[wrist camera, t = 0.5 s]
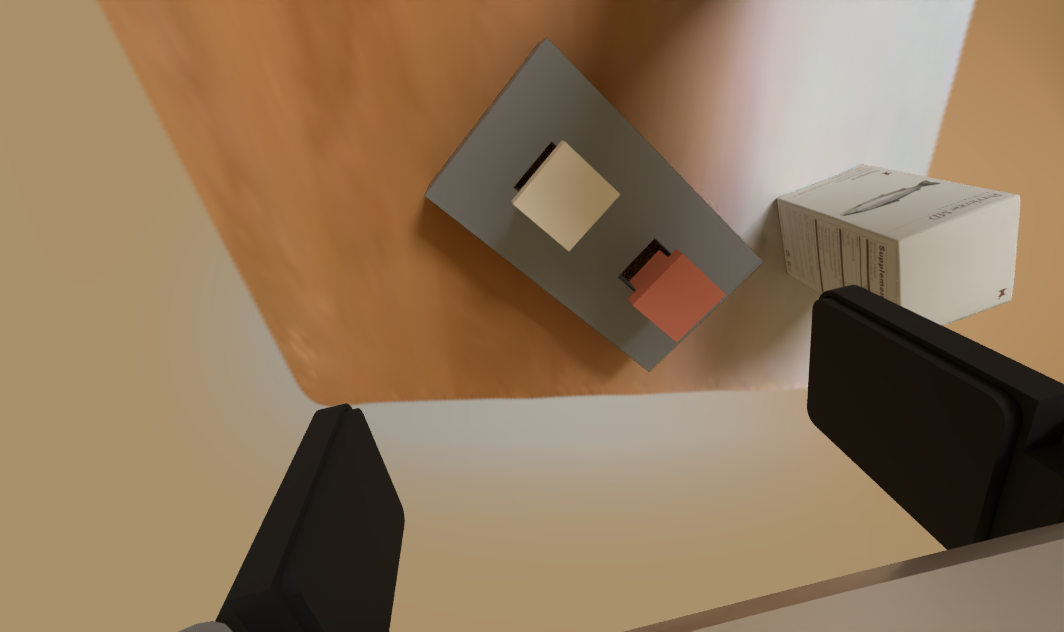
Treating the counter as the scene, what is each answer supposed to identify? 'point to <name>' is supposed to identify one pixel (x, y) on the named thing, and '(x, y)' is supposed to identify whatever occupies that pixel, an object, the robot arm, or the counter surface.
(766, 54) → the counter surface
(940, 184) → the supplement box
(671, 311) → the red plug
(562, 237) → the ivory plug
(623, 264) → the plug panel
